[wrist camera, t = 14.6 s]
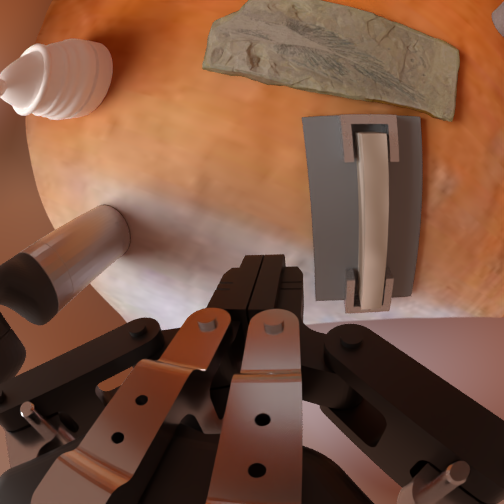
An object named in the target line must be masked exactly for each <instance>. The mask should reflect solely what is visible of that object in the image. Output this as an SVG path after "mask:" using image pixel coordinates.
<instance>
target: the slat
mask: <svg viewBox="0 0 504 504" xmlns="http://www.w3.org/2000/svg"><path fill="white" fill-rule="evenodd" d="M354 135H355V147H356V160H357V177H358V205H359V253H358V281H357V289H358V294H359V299H360V304H361V310H362V309H379V308H381V305H382V298H383V289H384V280H385V270H386V257H387V242H388V219H389V171H388V149H387V134H385V133H380V132H354Z"/></svg>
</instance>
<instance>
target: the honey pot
mask: <svg viewBox="0 0 504 504" xmlns="http://www.w3.org/2000/svg"><path fill="white" fill-rule="evenodd" d="M112 74H113V62H112V57H111V54H110V52H109V50H108V49H107V47H105V46H104V45H103V44H102V43H98V42H94V41H88V40H82V39H75V38H73V39H67V40H64V41H62V42H57V43H52V44H48V45H47V46H45V45H44V44H39V43H38V44H35V45H32V46H31V47H29V48H28V49H27V50H26V51H25V52H24V53H23V54H22V56H21V57H20V58H19V59H17V60H15V61H14V62H13V63H11V64H10V65H9V66H7V67H6V69H4V70H3V71H2V72H1V74H0V97H1V98H2V99H3V100H4V101H5V102H7V103H9V104H10V105H12V106H13V108H14V110H15V111H16V112H17V113H18V114H20V115H29V114H31V113H32V114H34V115H36V116H42V117H47V118H49V119H52V120H61V119H69V118H76V117H82V116H85V115H88V114H90V113H91V112H93V111H94V110H95V109H96V108H97V107H98V106H99V105H100V104H101V102H102V101H103V99H104V97H105V96H106V94H107V91H108V89H109V86H110V84H111V79H112Z"/></svg>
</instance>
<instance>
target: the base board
mask: <svg viewBox="0 0 504 504" xmlns="http://www.w3.org/2000/svg"><path fill="white" fill-rule="evenodd" d="M396 118H397V129H398V145H399V162H390V161H388V171H389V219H388V242H387V257H386V267H389V268H390V270H391V273H392V275H393V277H394V282H393V289H392V296H391V298H392V297H407V296H411V294H412V288H413V282H414V275H415V269H416V261H417V254H418V245H419V235H420V223H421V208H422V136H421V121H420V117H415V116H396ZM302 123H303V131H304V139H305V148H306V157H307V167H308V177H309V188H310V200H311V213H312V227H313V244H314V265H315V293H316V301H327V300H344V289H345V268H353V273H354V277H355V291H354V294H356V293H358V289H357V281H358V253H359V205H358V177H357V160H356V147H355V135H354V132H380V133H382V124H351V130H352V140H353V153H354V162H344V161H343V160H342V155H341V144H340V133H339V124H338V115H337V116H317V117H302Z"/></svg>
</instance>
